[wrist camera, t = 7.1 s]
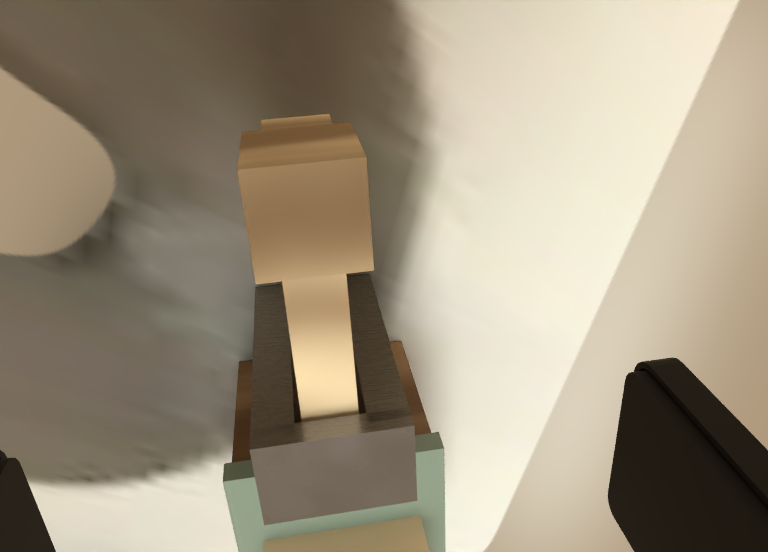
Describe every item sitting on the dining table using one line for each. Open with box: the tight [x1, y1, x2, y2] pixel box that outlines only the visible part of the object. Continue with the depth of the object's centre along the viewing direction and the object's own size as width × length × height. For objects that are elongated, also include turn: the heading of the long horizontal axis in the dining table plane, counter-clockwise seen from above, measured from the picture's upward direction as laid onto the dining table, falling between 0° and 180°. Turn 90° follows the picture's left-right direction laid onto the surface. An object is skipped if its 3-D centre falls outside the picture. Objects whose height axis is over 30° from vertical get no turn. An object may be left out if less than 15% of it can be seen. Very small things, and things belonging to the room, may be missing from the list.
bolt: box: [237, 114, 374, 422], centre depth 24 cm, size 13×4×6 cm, turn 3°
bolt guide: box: [250, 274, 417, 525], centre depth 33 cm, size 4×7×14 cm, turn 93°
